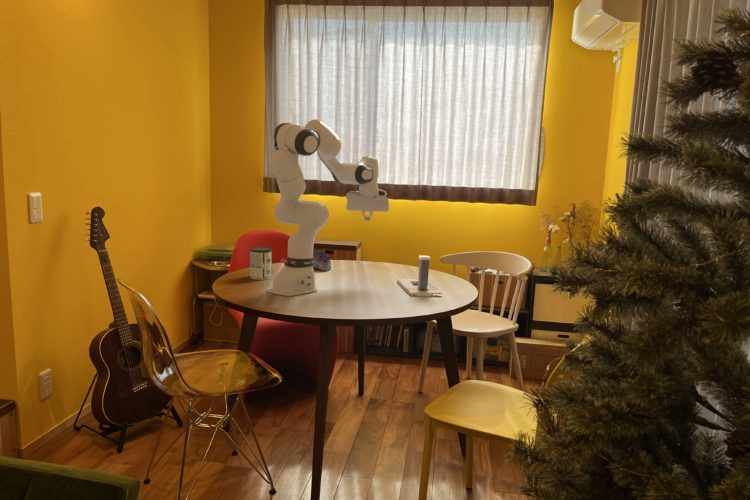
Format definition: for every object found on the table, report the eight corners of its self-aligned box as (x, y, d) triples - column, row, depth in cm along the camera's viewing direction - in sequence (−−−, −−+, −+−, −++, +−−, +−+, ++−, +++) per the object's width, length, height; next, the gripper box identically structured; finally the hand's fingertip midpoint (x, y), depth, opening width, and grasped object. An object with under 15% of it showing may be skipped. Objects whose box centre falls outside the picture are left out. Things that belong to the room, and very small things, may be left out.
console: (397, 282, 271) (397, 278, 271) (425, 282, 274) (425, 279, 273) (410, 296, 244) (411, 292, 244) (441, 296, 247) (442, 292, 246)
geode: (338, 271, 292) (337, 252, 290) (318, 275, 287) (316, 256, 285) (324, 262, 310) (323, 245, 308) (304, 266, 305) (303, 248, 303)
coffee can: (253, 274, 273) (253, 246, 271) (274, 276, 272) (274, 247, 270) (246, 279, 263) (246, 249, 260) (268, 280, 262) (268, 250, 259)
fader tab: (416, 290, 254) (418, 255, 251) (425, 290, 254) (428, 255, 252) (418, 293, 249) (421, 257, 247) (428, 293, 250) (430, 257, 248)
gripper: (347, 191, 261) (346, 220, 263) (390, 192, 265) (388, 221, 267) (345, 190, 267) (344, 219, 270) (387, 191, 271) (386, 220, 273)
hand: (367, 220), depth 268 cm, fingers closed
